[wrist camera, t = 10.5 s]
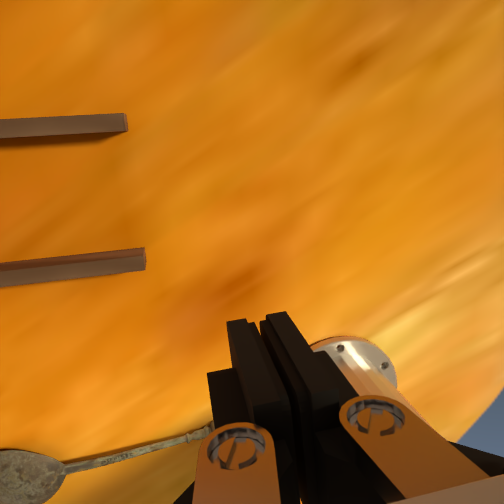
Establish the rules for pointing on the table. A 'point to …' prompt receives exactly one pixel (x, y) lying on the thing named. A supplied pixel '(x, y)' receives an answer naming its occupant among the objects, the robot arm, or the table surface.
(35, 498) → the soupspoon
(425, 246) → the table surface
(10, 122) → the chute
